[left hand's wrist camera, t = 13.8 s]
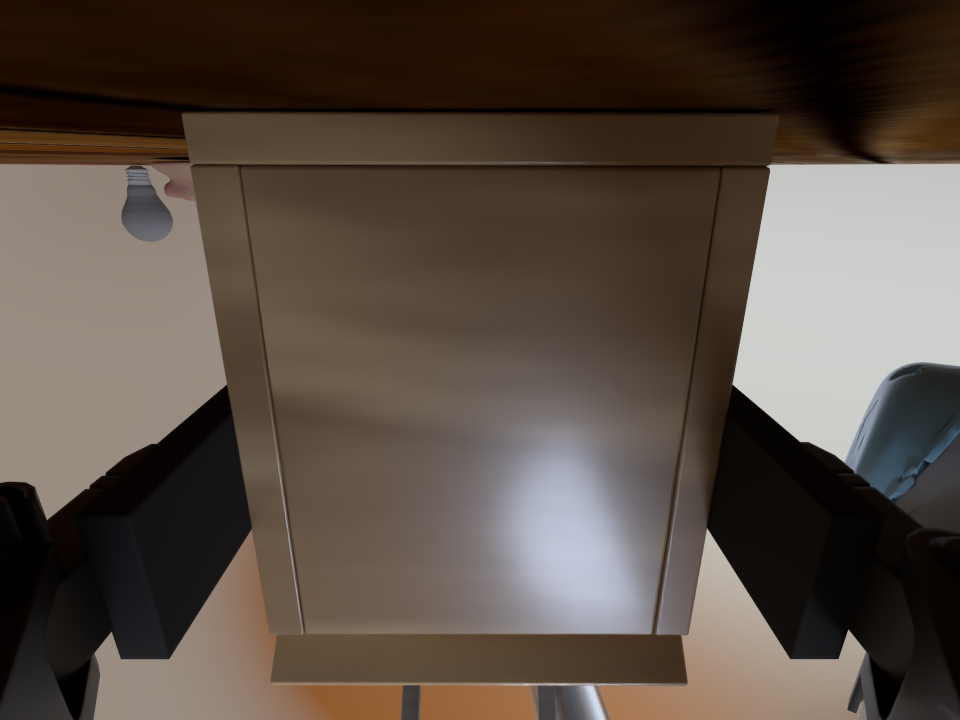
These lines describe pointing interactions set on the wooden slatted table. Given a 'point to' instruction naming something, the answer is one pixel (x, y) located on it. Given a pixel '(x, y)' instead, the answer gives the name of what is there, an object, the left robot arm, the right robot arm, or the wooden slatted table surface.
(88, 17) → the wooden slatted table surface
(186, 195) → the anatomical model
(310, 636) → the lid
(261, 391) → the chest
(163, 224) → the light bulb
